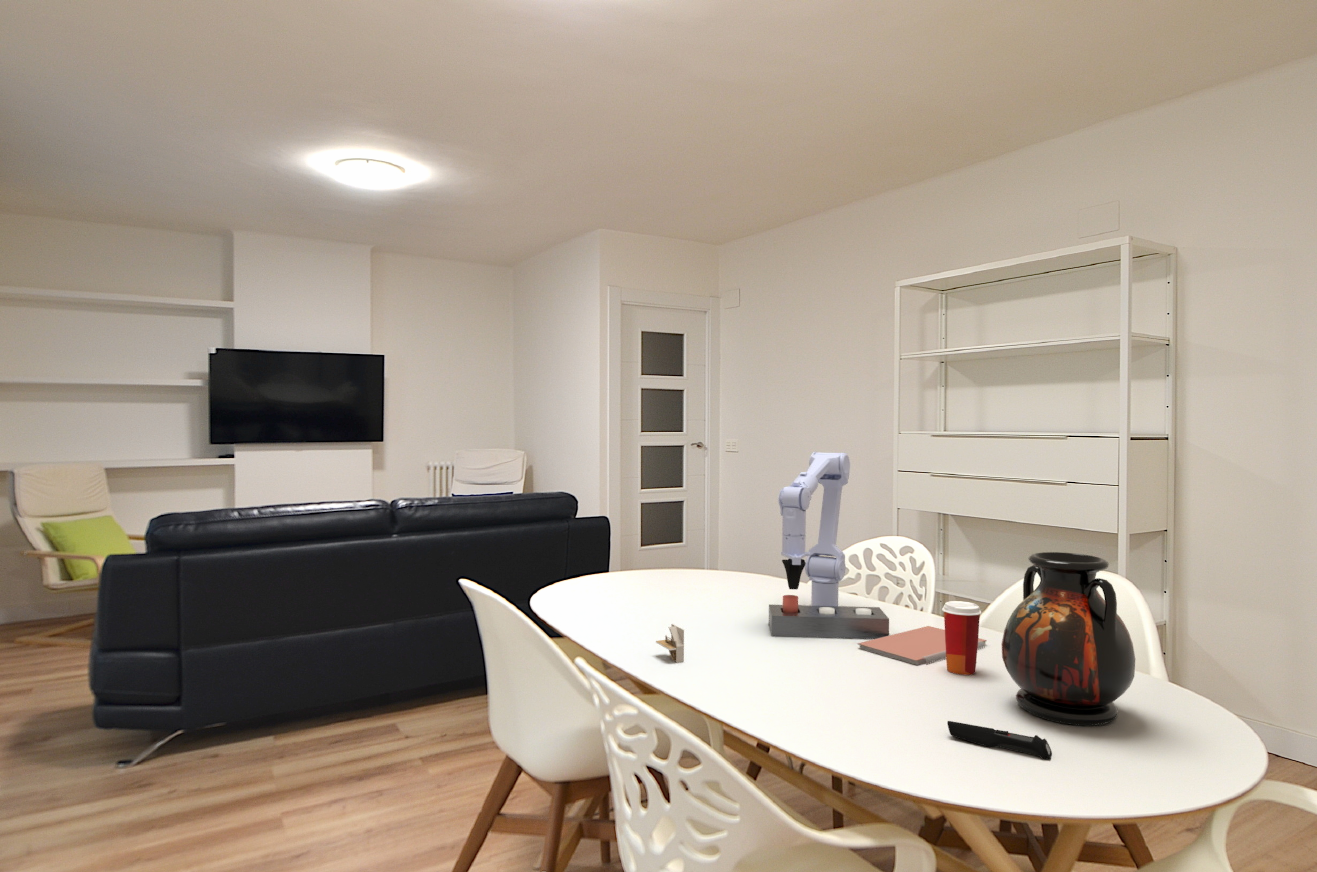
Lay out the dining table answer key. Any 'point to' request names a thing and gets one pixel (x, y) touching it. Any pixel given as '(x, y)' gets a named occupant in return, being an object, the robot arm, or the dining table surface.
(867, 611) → the plug
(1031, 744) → the electric trimmer
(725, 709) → the dining table surface
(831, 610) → the plug
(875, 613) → the block
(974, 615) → the paper cup
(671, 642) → the architectural model
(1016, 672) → the amphora vase
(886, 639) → the notebook
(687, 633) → the dining table surface
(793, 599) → the red plug
